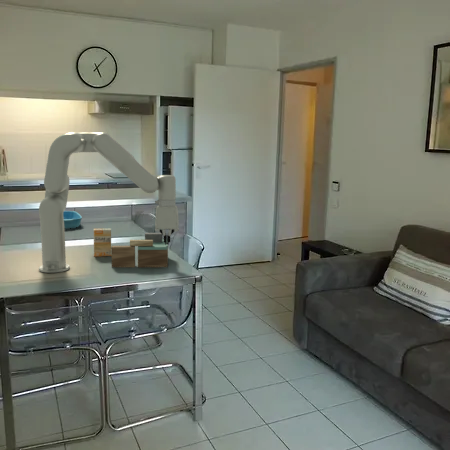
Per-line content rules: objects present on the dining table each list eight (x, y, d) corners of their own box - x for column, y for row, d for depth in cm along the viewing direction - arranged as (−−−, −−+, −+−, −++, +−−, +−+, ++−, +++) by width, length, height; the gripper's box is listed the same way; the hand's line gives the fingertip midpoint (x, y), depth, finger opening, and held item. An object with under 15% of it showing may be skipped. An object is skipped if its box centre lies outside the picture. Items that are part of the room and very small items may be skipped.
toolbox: (167, 267, 218) (167, 247, 216) (111, 267, 215) (111, 247, 213) (167, 257, 235) (167, 238, 234) (116, 257, 233) (115, 238, 231)
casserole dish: (85, 229, 303) (84, 218, 301) (47, 231, 293) (46, 220, 292) (75, 220, 335) (75, 209, 334) (41, 221, 326) (40, 211, 325)
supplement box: (94, 257, 233) (93, 230, 231) (93, 254, 238) (93, 228, 236) (111, 256, 236) (111, 229, 233) (111, 253, 240) (110, 227, 238)
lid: (167, 249, 216) (167, 238, 215) (137, 249, 215) (137, 238, 214) (168, 241, 234) (168, 230, 233) (140, 241, 233) (140, 230, 232)
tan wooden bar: (152, 246, 216) (152, 240, 216) (129, 246, 215) (129, 240, 215) (152, 244, 218) (152, 239, 218) (130, 245, 217) (130, 239, 217)
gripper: (149, 204, 210) (149, 245, 213) (184, 204, 212) (183, 245, 215) (150, 202, 217) (150, 242, 221) (183, 202, 219) (183, 242, 222)
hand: (166, 243), depth 218 cm, fingers closed
